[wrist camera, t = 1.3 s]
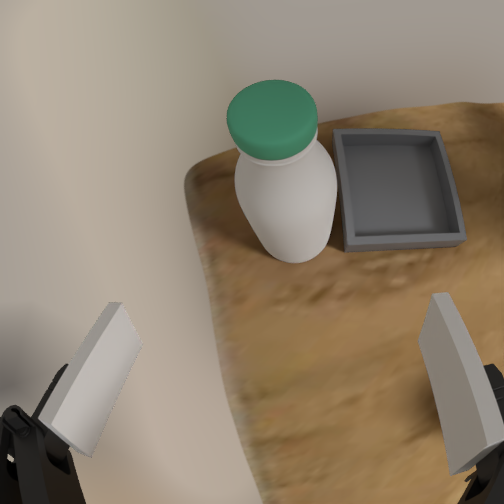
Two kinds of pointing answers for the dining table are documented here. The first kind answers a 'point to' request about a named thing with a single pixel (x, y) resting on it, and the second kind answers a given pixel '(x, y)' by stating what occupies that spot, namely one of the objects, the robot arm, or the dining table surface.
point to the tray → (396, 190)
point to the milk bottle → (282, 169)
